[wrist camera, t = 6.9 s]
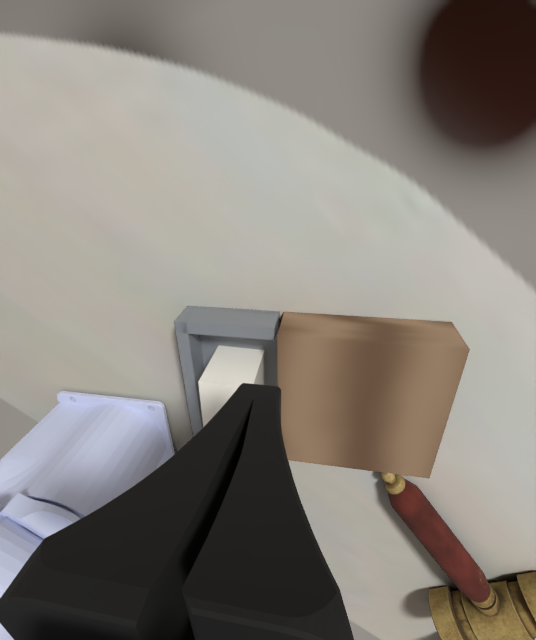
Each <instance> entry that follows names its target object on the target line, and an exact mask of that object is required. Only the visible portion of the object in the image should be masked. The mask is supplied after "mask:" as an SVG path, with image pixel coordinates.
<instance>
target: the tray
mask: <svg viewBox="0 0 536 640" xmlns="http://www.w3.org/2000/svg"><path fill="white" fill-rule="evenodd" d="M174 325H175V331H176V337H177V343H178V349H179V355H180V361H181V367H182V373H183V379H184V385H185V391H186V397H187V403H188V409H189V415H190V421H191V427H192V433H193V437H194V436H195V435H196V434H197V433H198V432H199V431H200V430H201V429H202V428H203V420H202V411H201V402H200V393H199V384H198V381H199V380H200V378H201V376H202V374H203V372H204V371H205V369H206V367H207V365H208V363H209V362H210V360H211V358H212V356H213V354H214V353H215V351H216V349H217V347H218V345H219V346H229V347H239V348H249V349H259V350H264V385H270V386H278V365H277V335H278V332H279V312H277V311H261V310H244V309H228V308H212V307H195V306H187V307H186V308H185V309H184V311H183V312H182V313H181V314H180V315H179V316H178V317H177V319H176V320H175V321H174Z"/></svg>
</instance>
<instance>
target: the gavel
mask: <svg viewBox="0 0 536 640" xmlns="http://www.w3.org/2000/svg"><path fill="white" fill-rule="evenodd" d="M381 477H382V479H383V480H384V481H385V488H386V490H387V491H388V495H389V498H390V502H391V505H392V507H393V508H394V510H395V511H396V512H397V513H398V515H399V516H400V517H401V518H402V519H403V521H404V522H405V523H406V524H407V526H408V527H409V528H410V529H411V531H412V532H413V533H414V534H415V536H416V537H417V538H418V539H419V541H420V542H421V543H422V544H423V545H424V547H425V548H426V549H427V550H428V552H429V553H430V554H431V555H432V557H433V558H434V559H435V560H436V562H437V563H438V564H439V565H440V567H441V568H442V569H443V570H444V572H445V573H446V574H447V575H448V576H449V578H450V579H451V580H452V581H453V583H454V584H455V585H456V586H457V588H458V589H459V590H457V591H453V590H452V589H451V588H450V587H449V586H444V587H437V588H431V589H430V590H429V597H428V598H429V607H430V612H431V615H432V619H433V622H434V625H435V627H436V630H437V632H438V634H439V636H440V638H441V640H535V638H536V571H534V572H528V573H522V574H517V579H518V581H515V582H508V581H507V580H506V581H500V582H493V583H488V581H487V579H486V577H485V575H484V573H483V571H482V570H481V569H480V567H479V566H478V565H477V564H476V562H475V561H474V560H473V558H472V557H471V556H470V554H469V553H468V552H467V551H466V549H465V548H464V547H463V545H462V544H461V543H460V541H459V540H458V539H457V537H456V536H455V535H454V534H453V532H452V531H451V530H450V528H449V527H448V526H447V524H446V523H445V522H444V520H443V519H442V518H441V517H440V515H439V514H438V513H437V511H436V510H435V509H434V507H433V506H432V505H431V504H430V502H429V501H428V500H427V498H426V497H425V496H424V494H423V493H422V492H421V490H420V489H419V488H418V487H417V486H416V485H414V484H412V483H411V482H409V481H407V480H406V479H404V478H403V477H402V476H401V475H399V474H392V473H384V472H381Z"/></svg>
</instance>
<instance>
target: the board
mask: <svg viewBox="0 0 536 640" xmlns="http://www.w3.org/2000/svg"><path fill="white" fill-rule="evenodd" d="M469 350H470V349H469V348H468V346H467V345H466V343H465V342H464V340H463V339H462V337H461V336H460V334H459V332H458V331H457V329H456V328H455V326H454V325H453V323H452V322H441V321H425V320H408V319H392V318H375V317H359V316H343V315H326V314H310V313H294V312H284V314H283V318H282V321H281V325H280V328H279V332H278V335H277V365H278V387H279V388H280V389H281V429H282V435H283V441H284V446H285V450H286V454H287V459H288V460H291V461H299V462H307V463H314V464H322V465H330V466H338V467H345V468H353V469H361V470H369V471H376V472H384V473H392V474H399V475H407V476H415V477H423V478H430V474H431V471H432V468H433V465H434V462H435V458H436V455H437V452H438V449H439V446H440V443H441V439H442V436H443V433H444V430H445V427H446V423H447V420H448V417H449V414H450V411H451V407H452V404H453V401H454V398H455V395H456V392H457V388H458V385H459V382H460V379H461V376H462V372H463V369H464V366H465V363H466V360H467V356H468V353H469Z"/></svg>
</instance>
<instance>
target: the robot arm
mask: <svg viewBox="0 0 536 640" xmlns="http://www.w3.org/2000/svg"><path fill="white" fill-rule="evenodd" d="M57 399H58V402H59V404H58V405H57V406H56V407H54V408H53V409H52V410H51V411H50V412H49V413H48V414H47V415H46V416H45V417H44V418H43V419H42V420H41V421H40V422H39V423H38V424H37V425H36V426H35V427H34V428H33V429H32V430H31V431H30V432H28V433H27V434H26V435H25V436H24V437H23V438H22V439H21V440H20V441H19V442H18V443H17V444H16V445H15V446H14V447H13V448H12V449H11V450H10V451H9V452H8V453H7V454H6V455H5V456H4V457H3V458H2V459H1V460H0V640H354V639H353V635H352V631H351V627H350V624H349V620H348V616H347V613H346V610H345V607H344V603H343V600H342V596H341V593H340V589H339V587H338V585H337V583H336V581H335V579H334V577H333V575H332V573H331V571H330V569H329V567H328V565H327V563H326V561H325V559H324V556H323V554H322V552H321V550H320V548H319V545H318V543H317V541H316V539H315V536H314V534H313V532H312V529H311V527H310V524H309V521H308V519H307V516H306V514H305V511H304V509H303V506H302V504H301V501H300V498H299V495H298V492H297V489H296V486H295V483H294V480H293V477H292V473H291V470H290V466H289V462H288V459H287V454H286V450H285V446H284V441H283V435H282V429H281V389H280V388H279V387H278V386H270V385H260V384H249V383H242V384H241V385H240V386H239V387H238V388H237V390H236V391H235V392H234V393H233V395H232V396H231V397H230V398H229V400H228V401H227V402H226V403H225V404H224V405H223V407H222V408H221V409H220V410H219V411H218V412H217V413H216V414H215V415H214V416H213V418H212V419H211V420H210V421H209V422H208V423H207V424H206V425H205V426H204V427H203V428H202V429H201V430H200V431H199V432H198V433H197V434H196V435H195V436H194V437H193V438H192V439H191V440H190V441H189V442H188V443H187V444H186V445H185V446H183V447H182V448H181V449H180V450H179V451H178V452H177V453H176V454H175V452H174V447H173V442H172V438H171V433H170V428H169V423H168V418H167V414H166V409H165V405H164V404H163V403H162V402H159V401H151V400H142V399H133V398H123V397H114V396H105V395H96V394H87V393H77V392H68V391H60V392H59V393H58V394H57ZM152 406H153V407H152Z"/></svg>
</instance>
